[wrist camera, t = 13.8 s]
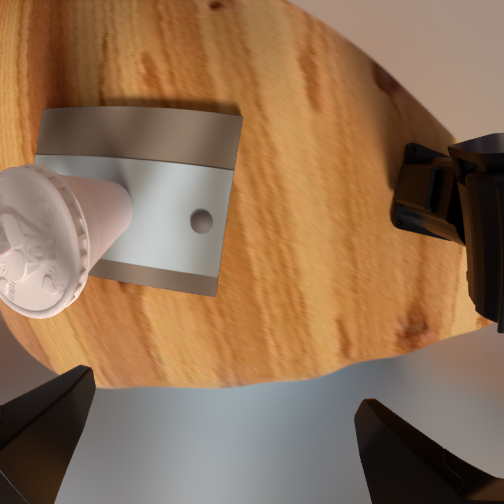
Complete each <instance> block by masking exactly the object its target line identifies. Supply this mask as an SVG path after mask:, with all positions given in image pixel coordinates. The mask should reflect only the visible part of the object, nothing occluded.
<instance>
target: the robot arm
mask: <svg viewBox="0 0 504 504" xmlns="http://www.w3.org/2000/svg"><path fill="white" fill-rule="evenodd" d="M411 147H413V148H414V151H413V152H412V151H411ZM448 151H449V155H450V156H451V157H452V158H451V157H448V156H446V155H444V154H441V153H439V152H437V151H434V150H432V149H429V148H427V147H424V146H422V145H419V144H416V143H408V144H407V145H406V148H405V155H404V162H403V166H402V167H401V171H400V177H399V182H398V188H397V193H396V205H395V210H394V214H393V219H392V224H393V226H394V227H396V228H398V229H402V230H406V231H411V232H415V233H419V234H423V235H428V236H432V237H436V238H440V239H444V240H448V241H454V242H456V243H458V244H460V245H462V246H465V247H466V253H467V268H468V271H467V272H466V275H467V281H468V292H469V296H470V298H471V300H472V301H473V303H474V304H475V305H476V306H475V310H476V312H478V313H479V314H480V315H482V316H483V317H485V318H486V319H489V320H491V321H493V322H495V323H498V329H497V331H498V333H504V133H494V134H489V135H485V136H482V137H478V138H475V139H471V140H467V141H464V142H461V143H457V144H454V145H450V146H448ZM399 219H400V224H397V221H398V220H399ZM95 390H96V385H95V380H94V374H93V370H92V368H91V367H88V366H84V365H79V366H77V367H75V368H73V369H71V370H69V371H67V372H65V373H63V374H61V375H60V376H58V377H56V378H54V379H52V380H50V381H48V382H46V383H44V384H42V385H40V386H38V387H36V388H34V389H33V390H30V391H29V392H27V393H25V394H23V395H21V396H19V397H17V398H15V399H13V400H11V401H9V402H7V403H5V404H4V405H1V406H0V504H54V502H55V499H56V497H57V494H58V491H59V488H60V486H61V483H62V480H63V478H64V475H65V473H66V470H67V468H68V465H69V463H70V460H71V458H72V455H73V452H74V450H75V448H76V446H77V443H78V441H79V439H80V436H81V434H82V432H83V429H84V426H85V423H86V420H87V416H88V413H89V410H90V407H91V403H92V400H93V397H94V394H95ZM354 422H355V429H356V435H357V442H358V448H359V455H360V459H361V463H362V466H363V470H364V474H365V478H366V482H367V486H368V489H369V493H370V497H371V501H372V504H504V479H502V478H497V477H494V476H492V475H490V474H488V473H486V472H483V471H482V470H480V469H478V468H476V467H474V466H472V465H471V464H469V463H467V462H465V461H463V460H462V459H460V458H458V457H457V456H455V455H454V454H452V453H451V452H449V451H448V450H446V449H443V447H442V446H440V445H439V444H438V443H436V442H435V441H433V440H432V439H430V438H429V437H427V436H426V435H425V434H423V433H422V432H420V431H419V430H418V429H416V428H415V427H413V426H412V425H411V424H409V423H408V422H406V421H405V420H403V419H402V418H401V417H399V416H398V415H396V414H395V413H394V412H392V411H391V410H390V409H388V408H387V407H386V406H384V405H383V404H382V403H380V402H379V401H378V400H376V399H374V398H370V399H364V400H363V401H362V402H361V404H360V406H359V408H358V410H357V412H356V414H355V417H354Z"/></svg>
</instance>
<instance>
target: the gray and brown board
mask: <svg viewBox="0 0 504 504" xmlns="http://www.w3.org/2000/svg"><path fill="white" fill-rule="evenodd" d="M242 121H243V116H236V115H229V114H222V113H213V112H204V111H195V110H184V109H171V108H155V107H128V106H92V107H66V108H51V109H43V111H42V116H41V122H40V129H39V136H38V143H37V152H36V155H35V164H34V165H42V166H44V167H46V168H48V169H50V170H52V171H54V172H56V173H57V174H60V175H66V176H75V177H82V178H90V179H98V180H105V181H112V182H116V183H118V184H120V185H121V186H123V187H124V188H125V189H126V190H127V192H128V193H129V195H130V197H131V200H132V204H133V215H132V219H131V221H130V223H129V225H128V226H127V228H126V229H125V230H124V231H123V232H122V233H121V234H120V236H119V237H118V238H117V239H116V240H115V241H114V242H113V244H112V245H111V246H110V247H109V248H108V249H107V250H106V252H105V253H104V254H103V255H102V256H101V258H100V259H99V260H98V261H97V262H96V263H95V265H94V266H93V267H92V268H91V270H90V271H89V273H88V275H90V276H95V277H100V278H105V279H110V280H116V281H121V282H126V283H132V284H137V285H143V286H149V287H155V288H161V289H167V290H173V291H179V292H185V293H192V294H198V295H205V296H212V297H216V292H217V284H218V277H219V269H220V262H221V255H222V248H223V240H224V234H225V227H226V220H227V213H228V207H229V200H230V194H231V187H232V181H233V175H234V168H235V162H236V156H237V150H238V144H239V138H240V132H241V127H242Z"/></svg>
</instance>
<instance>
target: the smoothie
mask: <svg viewBox="0 0 504 504" xmlns="http://www.w3.org/2000/svg"><path fill="white" fill-rule="evenodd" d="M132 215H133V204H132V200H131V197H130V195H129V193H128V192H127V190H126V189H125V188H124V187H123V186H121V185H120V184H118V183H116V182H112V181H105V180H98V179H90V178H82V177H75V176H66V175H60V174H57V173H56V172H54V171H52V170H50V169H48V168H46V167H44V166H42V165H33V164H25V165H22V166H19V167H12V168H8V169H6V170H3V171H2V172H0V298H1V299H2V300H3V301H4V302H5V303H6V304H7V305H8V306H10V307H11V308H12V309H14V310H15V311H17V312H18V313H20V314H22V315H25V316H27V317H31V318H37V319H43V318H49V317H52V316H54V315H56V314H58V313H59V312H61V311H62V310H63V309H64V308H66V307H68V306H69V305H70V304H71V303H72V302H73V301H75V300H76V299H77V298H78V296H79V295H80V293H81V291H82V289H83V288H84V286H85V284H86V281H87V277H88V273H89V271H90V270H91V268H92V267H93V266H94V265H95V263H96V262H97V261H98V260H99V259H100V258H101V256H102V255H103V254H104V253H105V252H106V250H107V249H108V248H109V247H110V246H111V245H112V244H113V242H114V241H115V240H116V239H117V238H118V237H119V236H120V234H121V233H122V232H123V231H124V230H125V229H126V228H127V226H128V225H129V223H130V221H131V219H132Z"/></svg>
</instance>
